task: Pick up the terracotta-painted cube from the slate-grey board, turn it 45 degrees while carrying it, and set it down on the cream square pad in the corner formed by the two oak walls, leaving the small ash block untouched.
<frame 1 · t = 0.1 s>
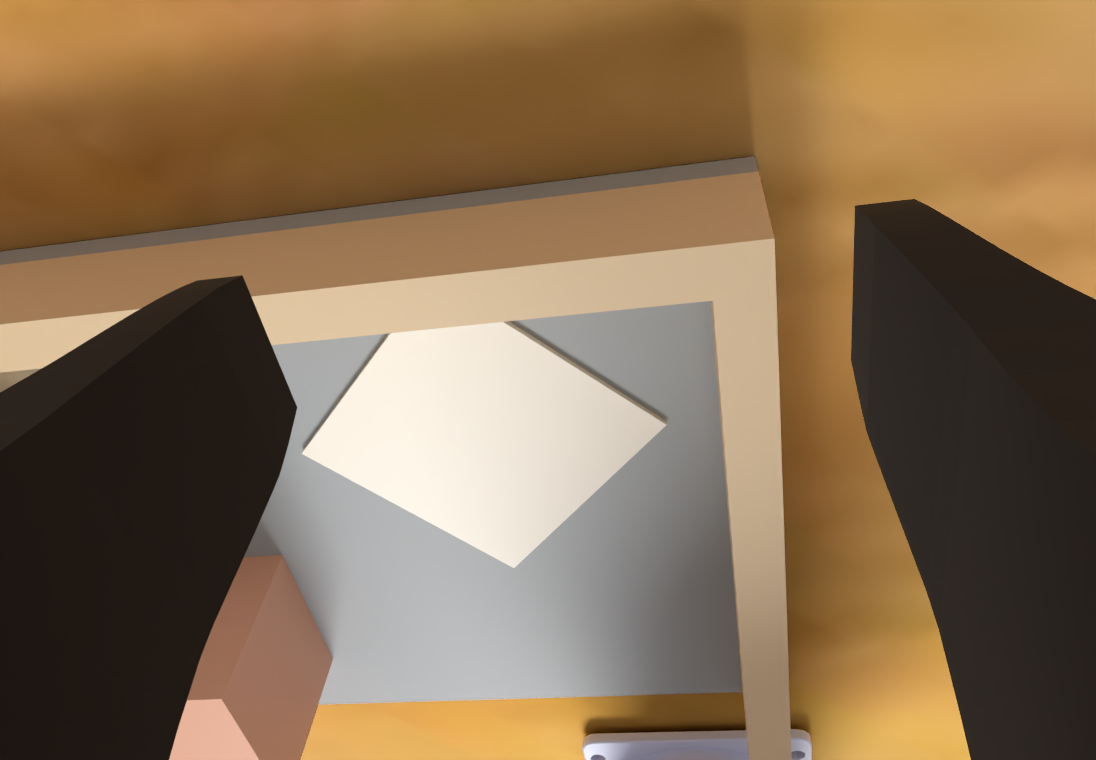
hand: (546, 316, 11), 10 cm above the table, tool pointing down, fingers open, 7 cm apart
arena board: (353, 495, 27), on the table
terracotta cube: (236, 612, 30), point 1 cm above the table, touching arena board
ash block: (46, 397, 25), point 1 cm above the table, touching arena board
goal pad: (478, 435, 24), resting on arena board
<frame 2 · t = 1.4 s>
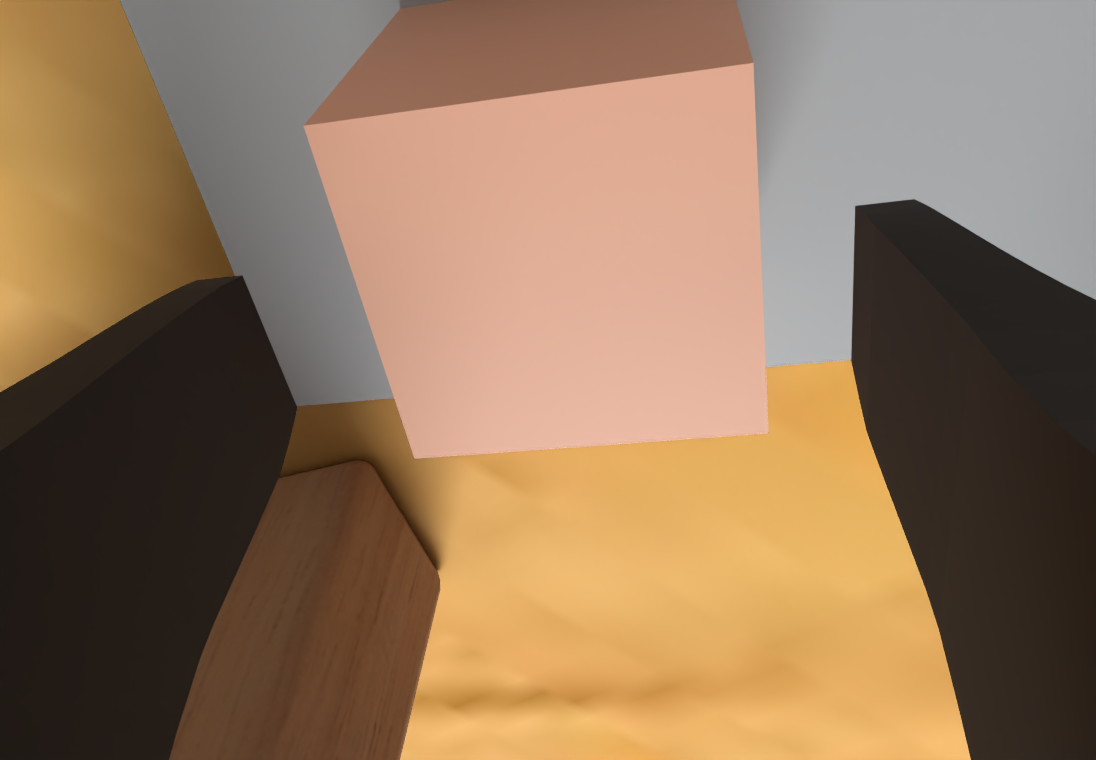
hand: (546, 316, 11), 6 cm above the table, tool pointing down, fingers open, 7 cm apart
wooden block: (257, 544, 24), on the table
terracotta cube: (581, 140, 15), point 1 cm above the table, touching arena board
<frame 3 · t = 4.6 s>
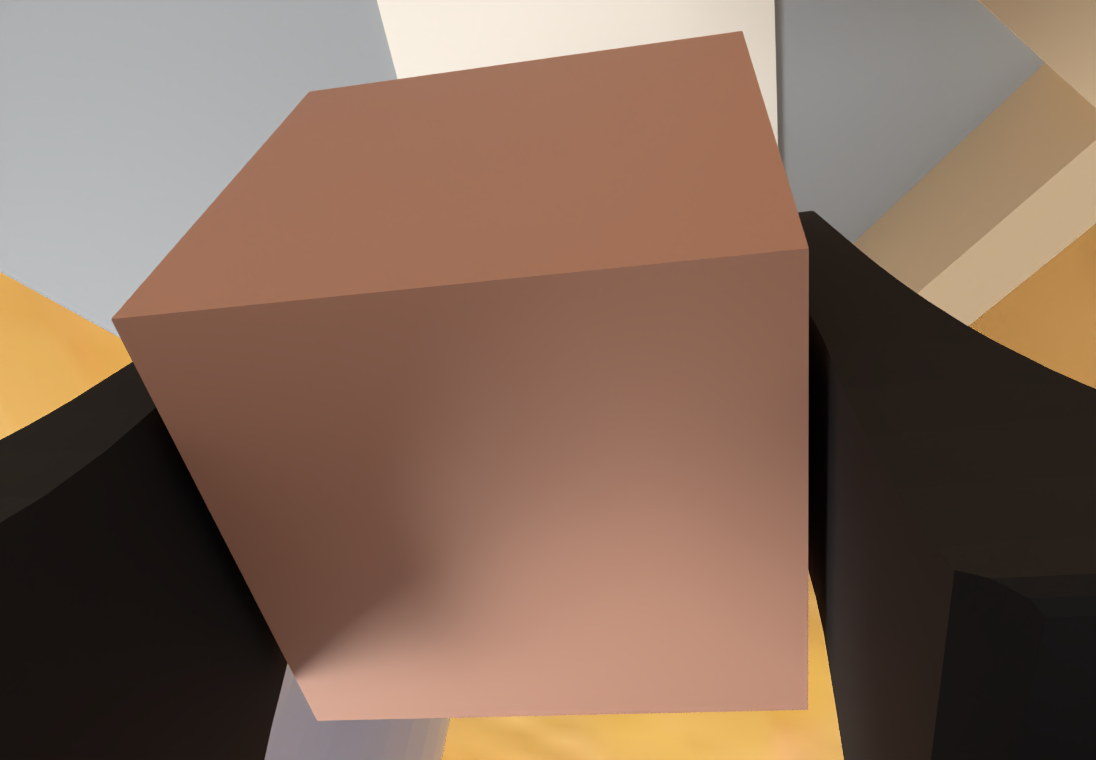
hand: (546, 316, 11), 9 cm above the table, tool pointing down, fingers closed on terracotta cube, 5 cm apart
arena board: (328, 37, 18), on the table
terracotta cube: (552, 257, 12), point 8 cm above the table, touching gripper
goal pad: (585, 87, 17), resting on arena board
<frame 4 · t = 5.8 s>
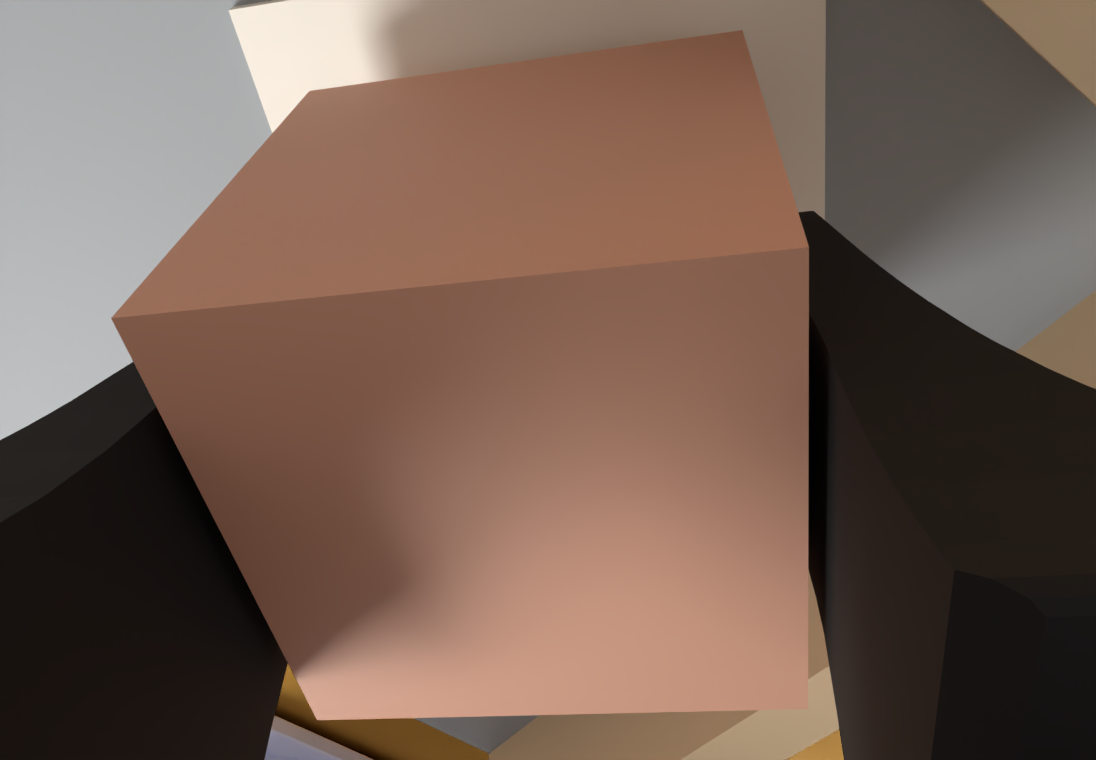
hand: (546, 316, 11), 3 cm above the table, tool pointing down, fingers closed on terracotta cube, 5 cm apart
arena board: (213, 156, 13), on the table
terracotta cube: (552, 256, 12), point 2 cm above the table, touching gripper
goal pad: (560, 230, 13), resting on arena board
when the fingers open (3 cm above the table, at t = 6.6 s): terracotta cube stays where it is, resting on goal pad.
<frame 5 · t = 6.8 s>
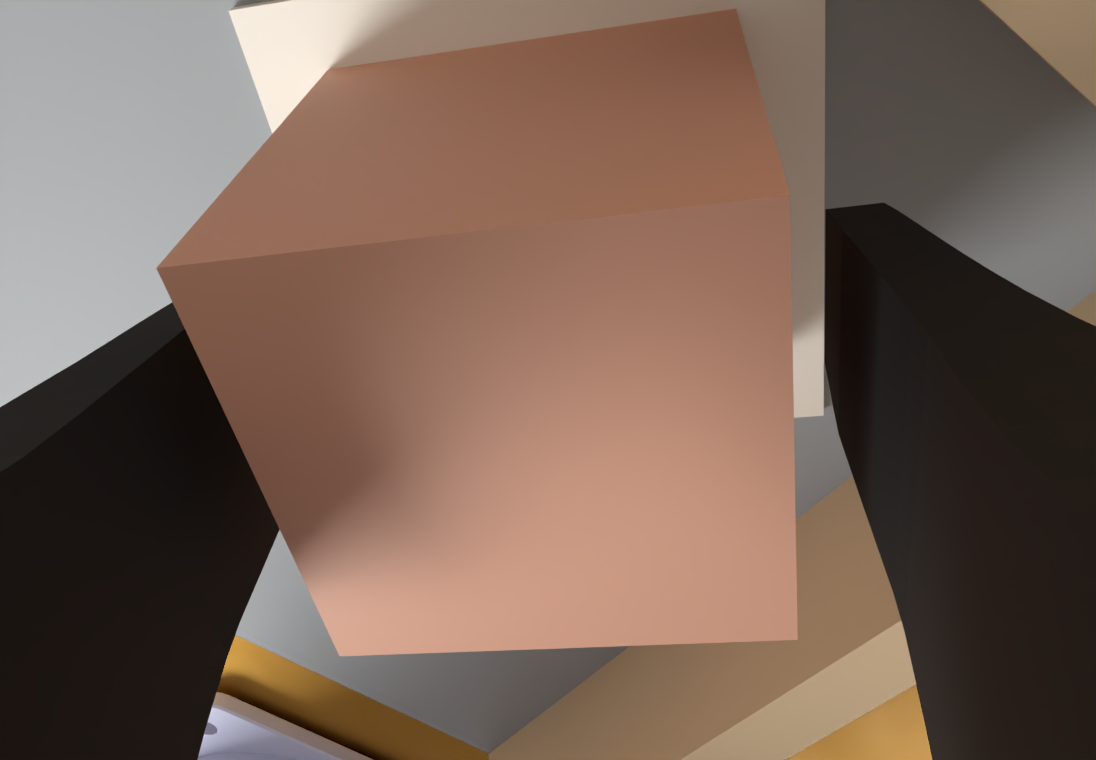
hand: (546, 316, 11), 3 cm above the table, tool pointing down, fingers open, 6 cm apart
arena board: (213, 156, 13), on the table
terracotta cube: (557, 227, 12), point 1 cm above the table, touching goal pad
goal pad: (560, 230, 13), resting on arena board
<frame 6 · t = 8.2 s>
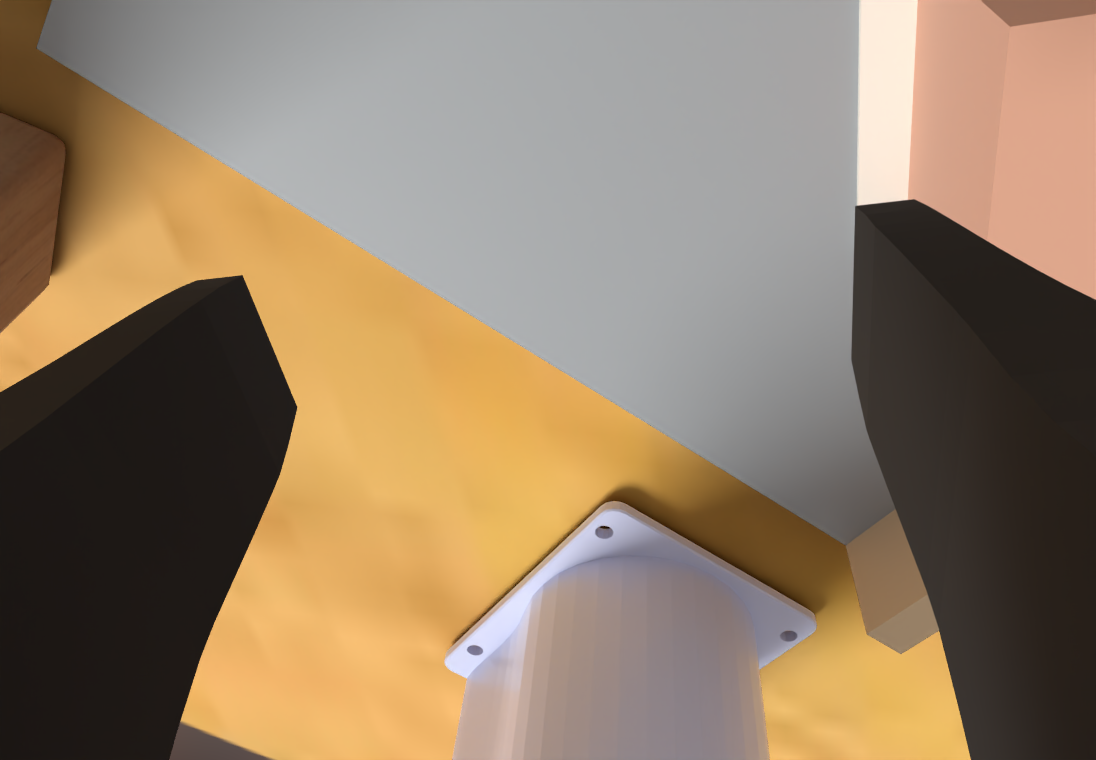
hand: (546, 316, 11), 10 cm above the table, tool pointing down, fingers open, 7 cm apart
arena board: (775, 24, 18), on the table
terracotta cube: (1053, 65, 17), point 1 cm above the table, touching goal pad
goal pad: (1049, 70, 17), resting on arena board
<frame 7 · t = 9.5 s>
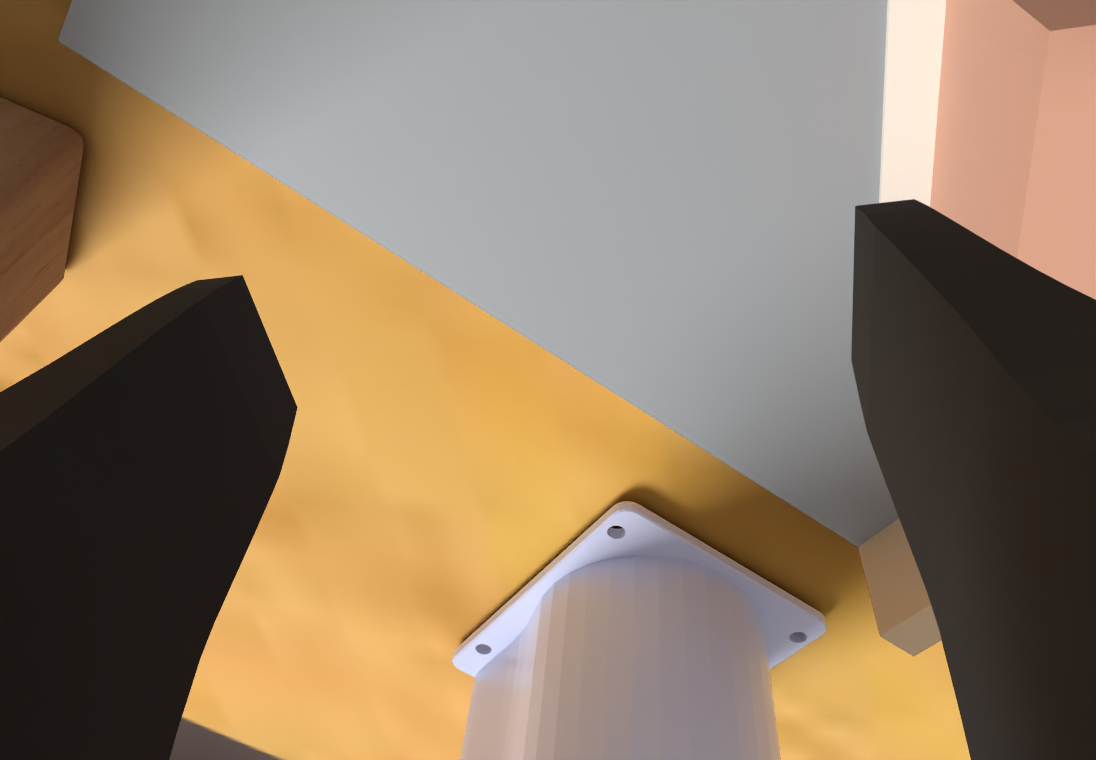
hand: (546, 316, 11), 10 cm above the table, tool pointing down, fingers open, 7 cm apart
arena board: (801, 26, 18), on the table
terracotta cube: (1079, 70, 17), point 1 cm above the table, touching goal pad
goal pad: (1075, 74, 17), resting on arena board
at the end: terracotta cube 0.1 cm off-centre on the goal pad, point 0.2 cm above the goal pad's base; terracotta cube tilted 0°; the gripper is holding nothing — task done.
